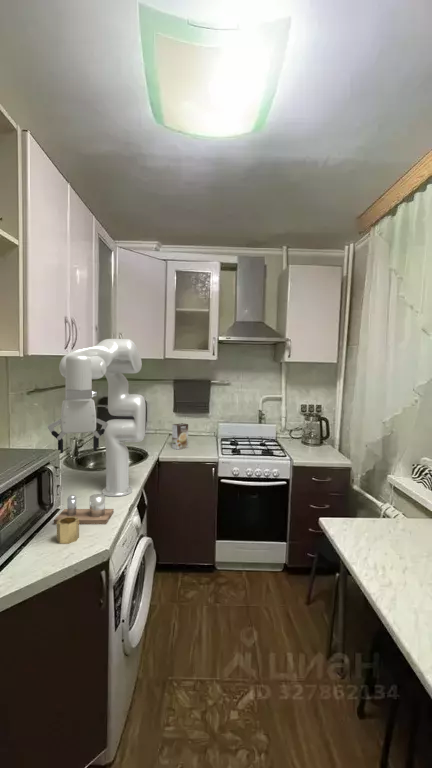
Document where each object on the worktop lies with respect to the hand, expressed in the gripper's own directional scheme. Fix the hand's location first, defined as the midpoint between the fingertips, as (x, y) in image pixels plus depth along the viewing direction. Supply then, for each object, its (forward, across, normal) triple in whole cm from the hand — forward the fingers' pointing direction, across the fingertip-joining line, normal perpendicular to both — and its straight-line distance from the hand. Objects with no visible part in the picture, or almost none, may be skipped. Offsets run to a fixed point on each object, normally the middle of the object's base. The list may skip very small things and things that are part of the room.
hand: (78, 451), depth 114 cm
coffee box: (+25, -71, -116) cm, 138 cm away
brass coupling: (+28, +3, -4) cm, 29 cm away
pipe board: (+28, -3, -18) cm, 33 cm away
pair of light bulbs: (+26, -4, -18) cm, 32 cm away
